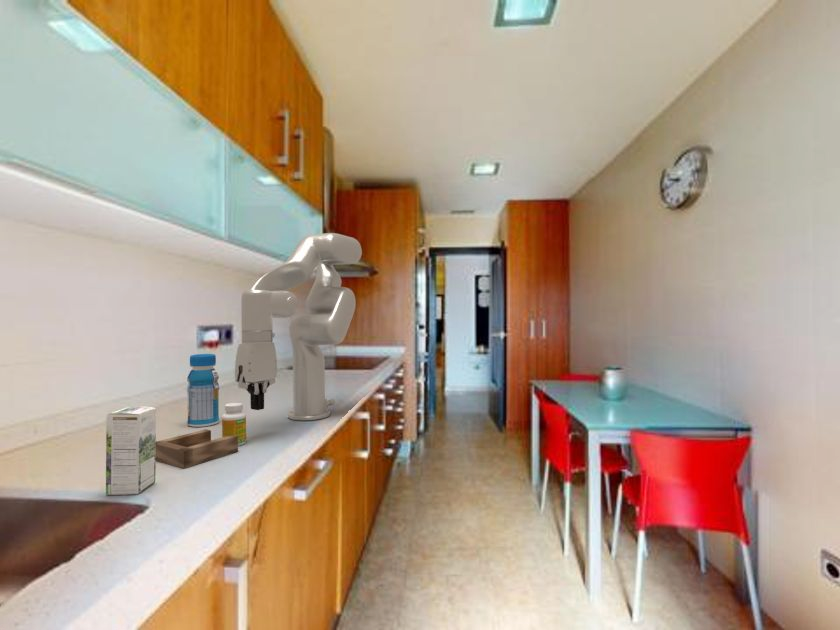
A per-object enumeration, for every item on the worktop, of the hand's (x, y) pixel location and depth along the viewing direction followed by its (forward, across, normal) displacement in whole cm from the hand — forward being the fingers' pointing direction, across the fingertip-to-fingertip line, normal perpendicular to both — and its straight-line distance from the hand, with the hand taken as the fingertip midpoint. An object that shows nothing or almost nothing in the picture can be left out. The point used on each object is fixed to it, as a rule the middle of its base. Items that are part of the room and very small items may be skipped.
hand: (257, 408), depth 115 cm
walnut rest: (+7, +17, 0) cm, 18 cm away
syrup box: (+8, +34, +8) cm, 36 cm away
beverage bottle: (+7, -2, -25) cm, 26 cm away
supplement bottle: (+8, +7, 0) cm, 10 cm away
